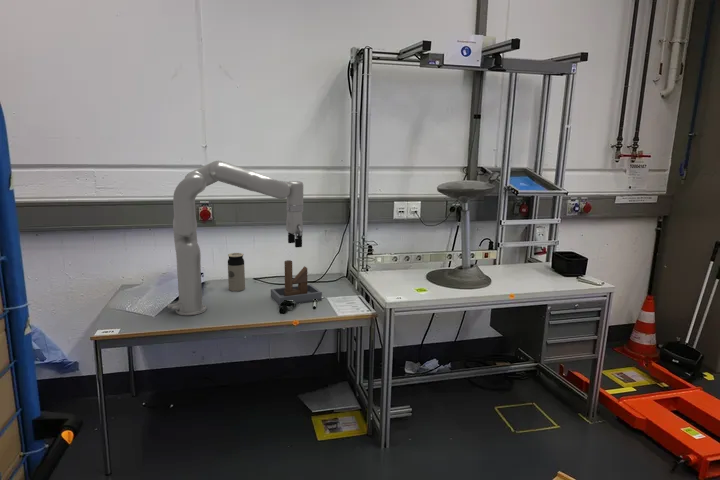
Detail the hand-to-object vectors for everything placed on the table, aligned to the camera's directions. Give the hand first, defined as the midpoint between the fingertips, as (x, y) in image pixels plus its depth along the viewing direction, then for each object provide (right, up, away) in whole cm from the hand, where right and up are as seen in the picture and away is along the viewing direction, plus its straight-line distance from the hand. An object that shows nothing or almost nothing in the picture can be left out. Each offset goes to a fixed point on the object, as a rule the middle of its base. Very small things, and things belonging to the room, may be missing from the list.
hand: (294, 245), depth 223 cm
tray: (0, -26, +5) cm, 26 cm away
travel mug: (-32, -23, +18) cm, 43 cm away
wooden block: (0, -25, +5) cm, 26 cm away
